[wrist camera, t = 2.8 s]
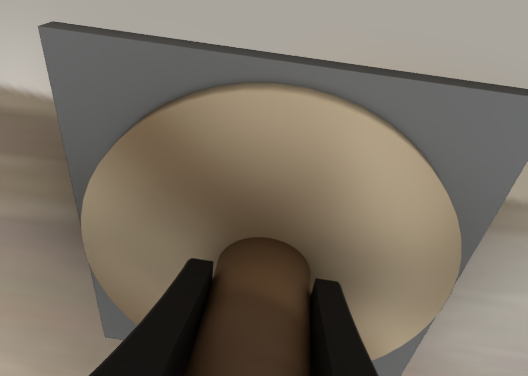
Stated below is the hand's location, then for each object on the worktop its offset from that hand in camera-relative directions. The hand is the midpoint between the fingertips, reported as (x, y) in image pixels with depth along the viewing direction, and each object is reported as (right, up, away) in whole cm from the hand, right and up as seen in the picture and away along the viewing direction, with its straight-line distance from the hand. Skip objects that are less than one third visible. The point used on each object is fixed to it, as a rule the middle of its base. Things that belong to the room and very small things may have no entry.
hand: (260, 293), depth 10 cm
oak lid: (0, +1, +1) cm, 2 cm away
